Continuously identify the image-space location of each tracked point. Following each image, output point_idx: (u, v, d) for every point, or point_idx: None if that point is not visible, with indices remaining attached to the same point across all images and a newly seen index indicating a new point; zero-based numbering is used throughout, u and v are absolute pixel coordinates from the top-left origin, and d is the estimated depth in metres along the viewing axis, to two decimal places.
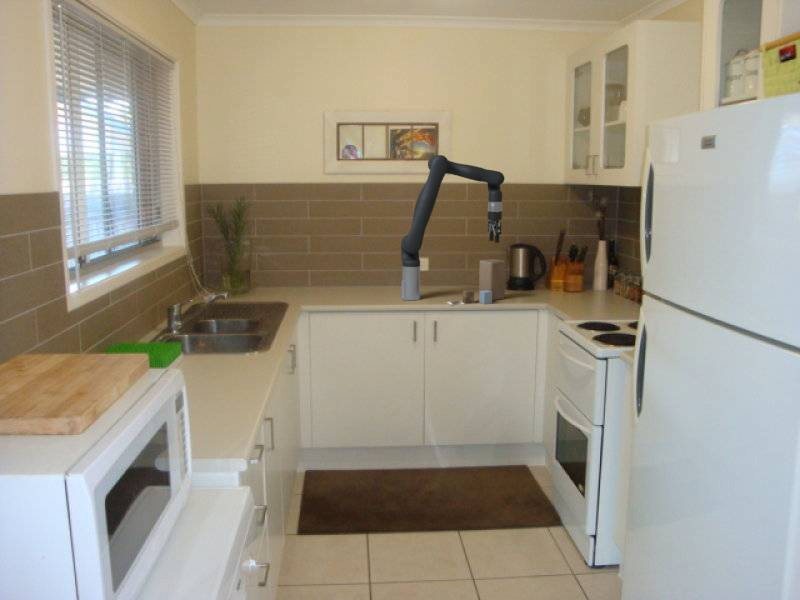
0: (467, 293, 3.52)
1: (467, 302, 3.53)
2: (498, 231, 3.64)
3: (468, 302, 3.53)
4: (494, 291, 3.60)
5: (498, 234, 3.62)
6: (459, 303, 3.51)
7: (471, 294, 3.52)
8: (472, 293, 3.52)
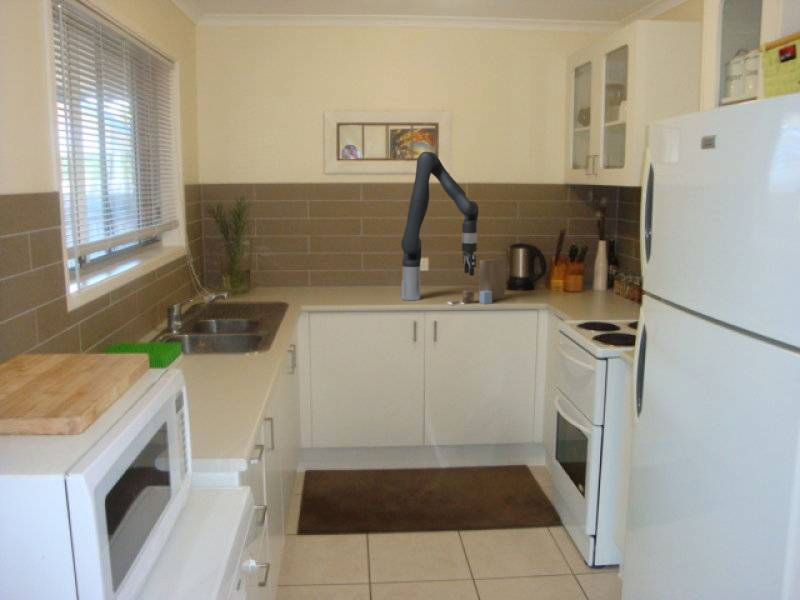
0: (467, 293, 3.52)
1: (467, 302, 3.53)
2: (473, 263, 3.48)
3: (468, 302, 3.53)
4: (494, 291, 3.60)
5: (473, 267, 3.46)
6: (459, 303, 3.51)
7: (471, 294, 3.52)
8: (472, 293, 3.52)
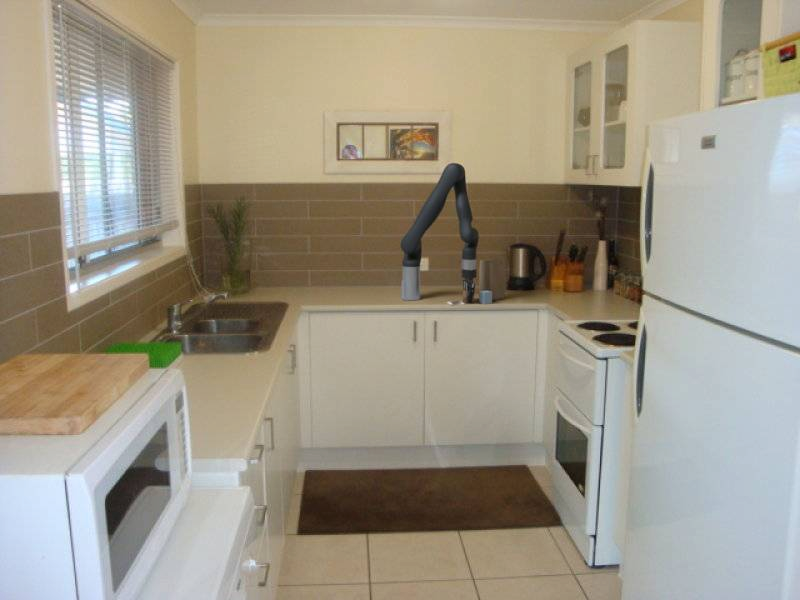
0: (467, 293, 3.52)
1: (467, 302, 3.53)
2: (471, 291, 3.52)
3: (467, 302, 3.53)
4: (494, 291, 3.60)
5: (471, 294, 3.50)
6: (459, 303, 3.51)
7: None
8: None
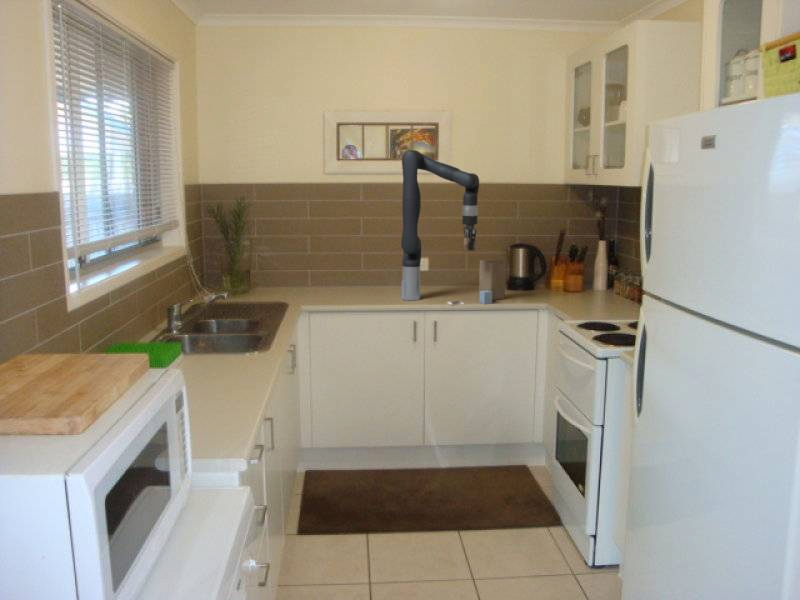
0: (468, 240, 3.47)
1: (468, 249, 3.48)
2: (472, 237, 3.47)
3: (468, 249, 3.48)
4: (494, 291, 3.60)
5: (472, 241, 3.45)
6: (459, 303, 3.51)
7: None
8: None
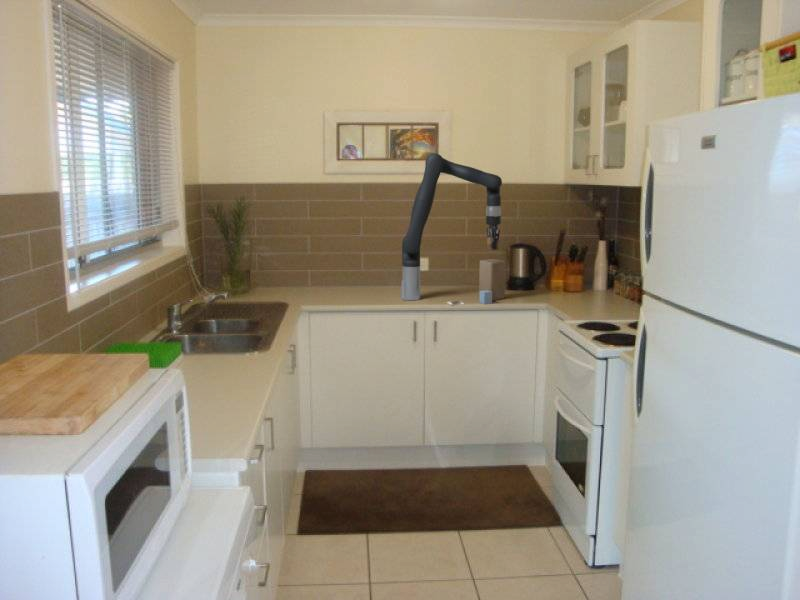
0: None
1: (491, 248, 3.59)
2: (496, 237, 3.57)
3: (492, 249, 3.59)
4: (494, 291, 3.60)
5: (495, 240, 3.56)
6: (459, 303, 3.51)
7: None
8: None
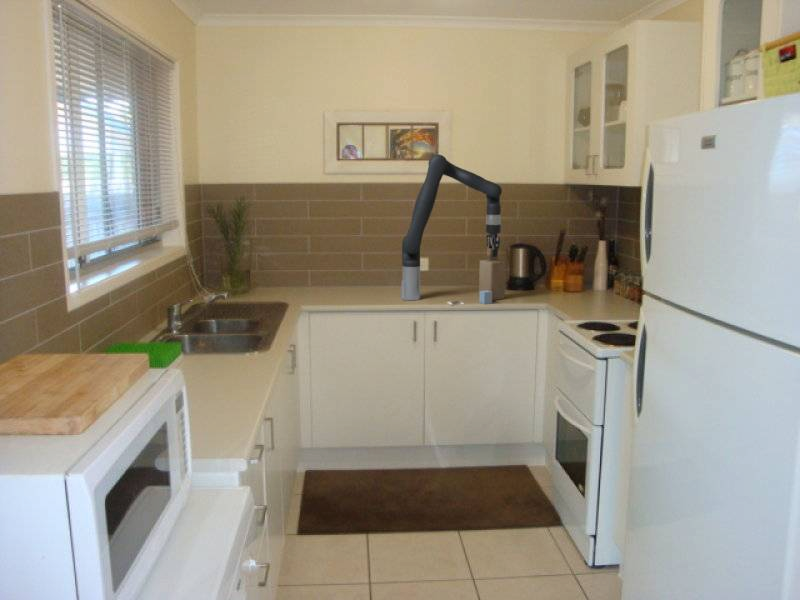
0: (491, 250, 3.59)
1: (491, 259, 3.60)
2: (496, 245, 3.58)
3: (492, 259, 3.60)
4: (494, 291, 3.60)
5: (496, 248, 3.56)
6: (459, 303, 3.51)
7: None
8: None
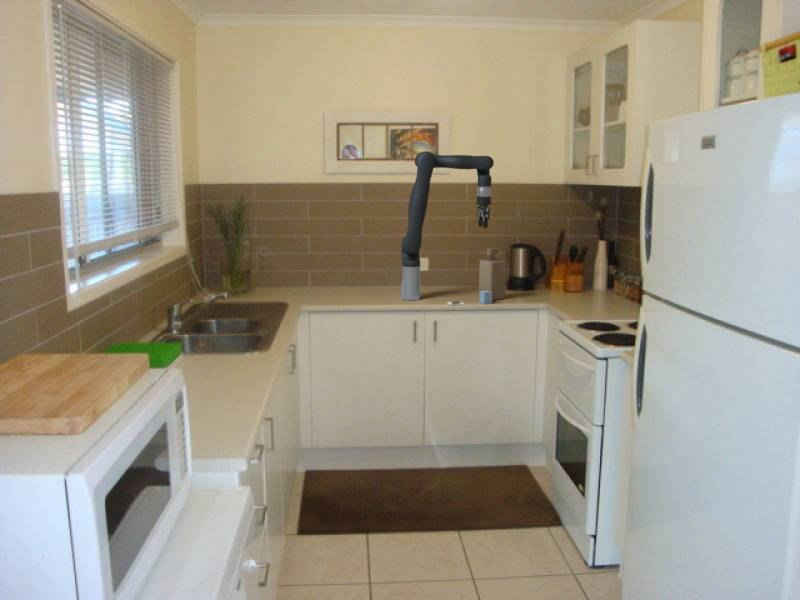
0: (491, 250, 3.59)
1: (491, 259, 3.60)
2: (487, 216, 3.60)
3: (492, 259, 3.60)
4: (494, 291, 3.60)
5: (486, 219, 3.58)
6: (459, 303, 3.51)
7: (495, 251, 3.60)
8: (496, 250, 3.60)
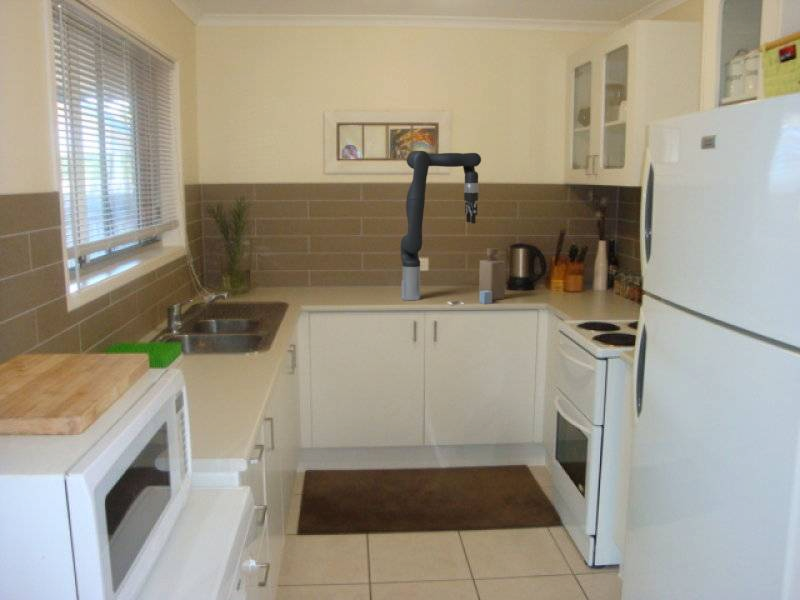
0: (491, 250, 3.59)
1: (491, 259, 3.60)
2: (474, 212, 3.68)
3: (492, 259, 3.60)
4: (494, 291, 3.60)
5: (474, 215, 3.66)
6: (459, 303, 3.51)
7: (495, 251, 3.60)
8: (496, 250, 3.60)
